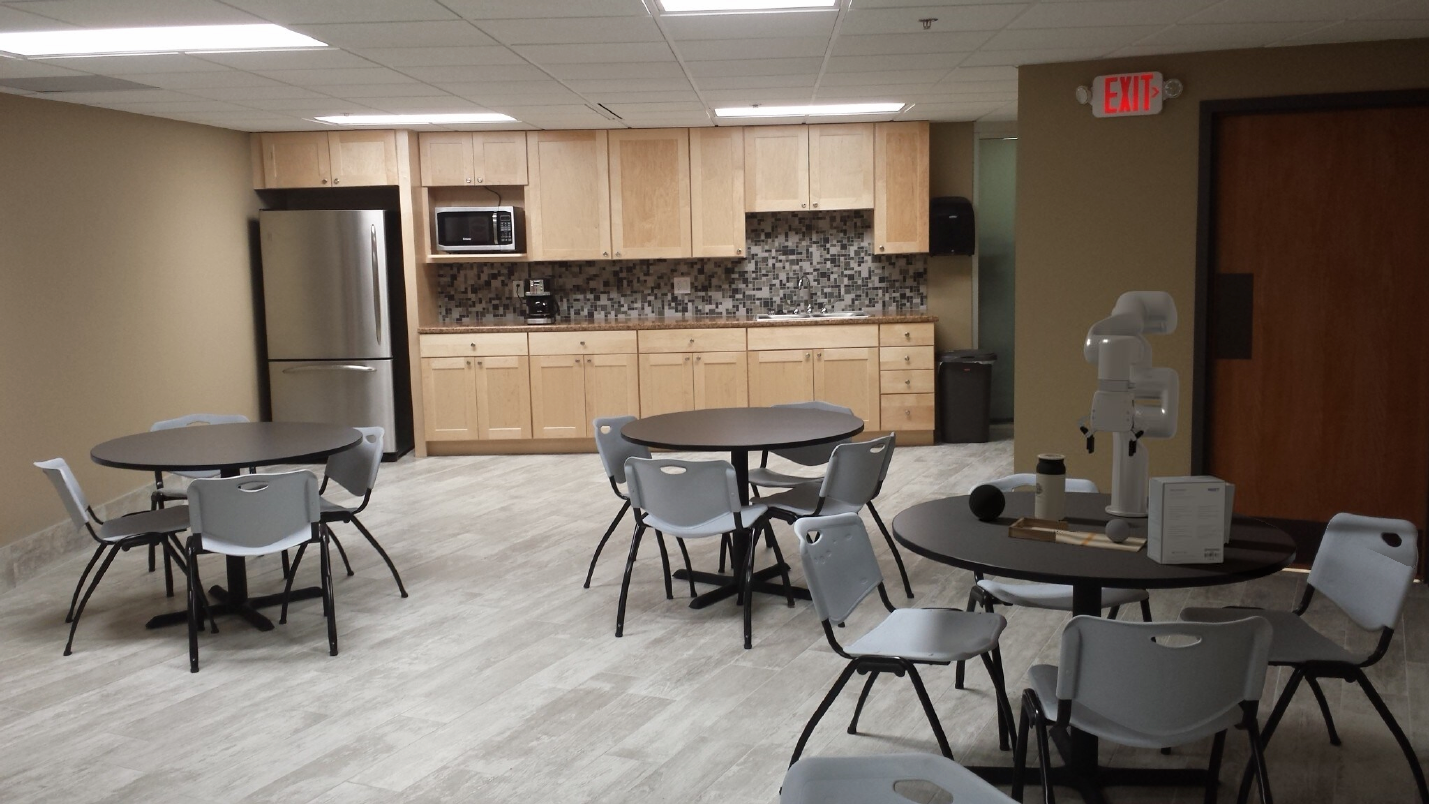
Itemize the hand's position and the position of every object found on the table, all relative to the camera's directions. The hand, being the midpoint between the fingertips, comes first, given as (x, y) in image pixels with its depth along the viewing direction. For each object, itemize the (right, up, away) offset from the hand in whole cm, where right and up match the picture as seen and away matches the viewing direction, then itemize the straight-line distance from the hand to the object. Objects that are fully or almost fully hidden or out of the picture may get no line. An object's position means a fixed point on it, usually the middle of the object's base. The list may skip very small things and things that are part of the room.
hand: (1110, 454), depth 270 cm
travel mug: (-5, -20, +33) cm, 39 cm away
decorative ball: (-23, -20, +32) cm, 45 cm away
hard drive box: (+14, -25, -11) cm, 31 cm away
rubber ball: (+3, -20, +5) cm, 21 cm away
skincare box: (+28, -23, +7) cm, 37 cm away
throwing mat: (-5, -23, +10) cm, 25 cm away
